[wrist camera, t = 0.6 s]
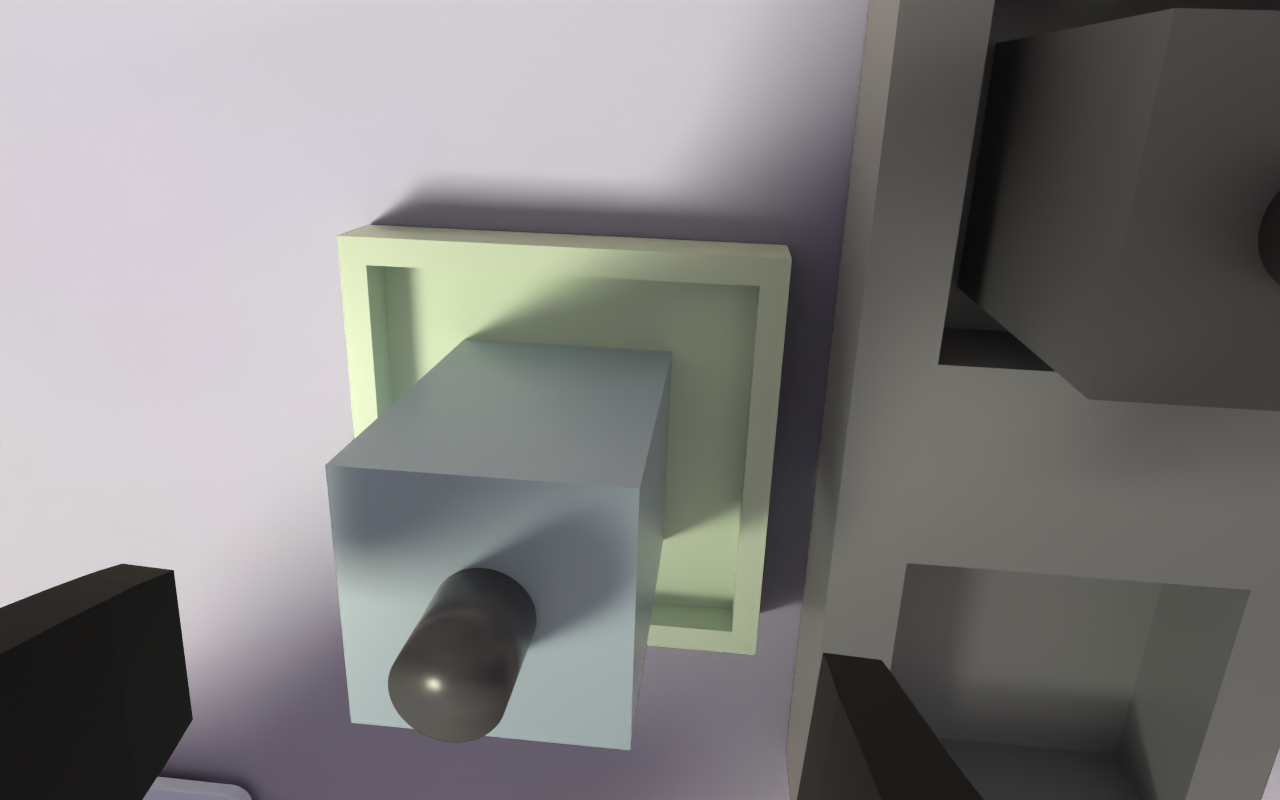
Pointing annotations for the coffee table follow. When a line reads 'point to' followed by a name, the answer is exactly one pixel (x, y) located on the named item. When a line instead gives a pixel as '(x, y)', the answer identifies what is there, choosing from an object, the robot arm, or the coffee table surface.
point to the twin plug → (1137, 206)
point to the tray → (611, 318)
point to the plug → (505, 544)
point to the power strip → (1024, 484)
